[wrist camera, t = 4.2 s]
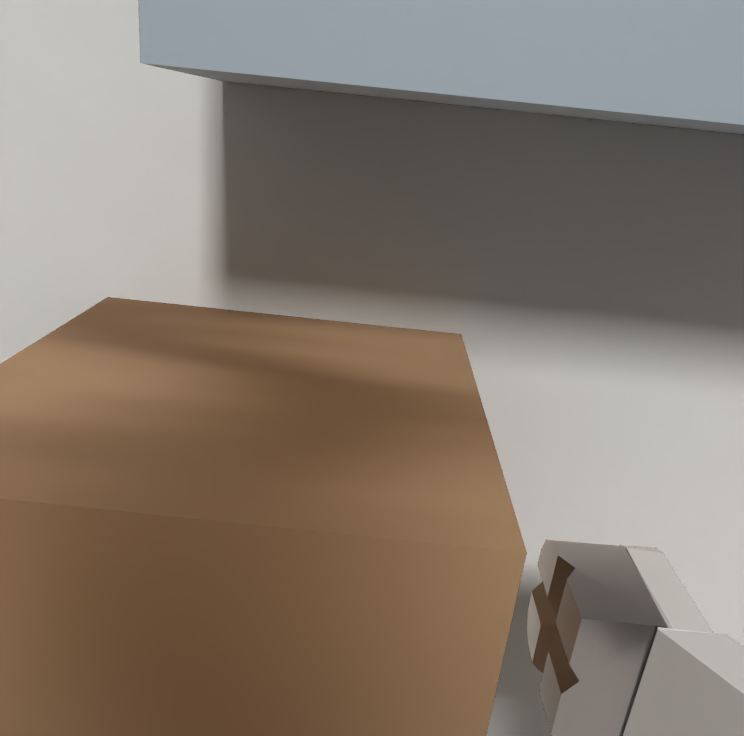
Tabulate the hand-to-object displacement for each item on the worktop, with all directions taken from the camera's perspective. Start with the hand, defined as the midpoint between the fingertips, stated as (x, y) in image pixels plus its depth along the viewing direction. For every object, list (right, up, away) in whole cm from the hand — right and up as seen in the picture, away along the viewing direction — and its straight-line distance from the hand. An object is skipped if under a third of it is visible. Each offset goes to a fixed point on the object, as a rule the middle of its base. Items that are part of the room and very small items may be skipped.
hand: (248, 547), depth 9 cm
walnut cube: (0, +1, +2) cm, 2 cm away
